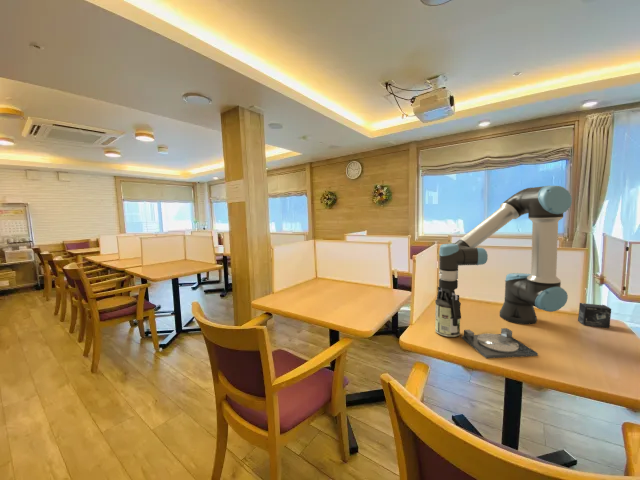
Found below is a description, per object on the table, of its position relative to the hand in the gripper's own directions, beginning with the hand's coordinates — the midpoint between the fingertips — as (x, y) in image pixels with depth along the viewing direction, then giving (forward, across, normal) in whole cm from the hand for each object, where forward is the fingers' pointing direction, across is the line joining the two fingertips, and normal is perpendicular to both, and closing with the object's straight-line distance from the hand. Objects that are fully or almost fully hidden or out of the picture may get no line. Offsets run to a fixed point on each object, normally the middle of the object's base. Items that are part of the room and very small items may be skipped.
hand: (447, 326), depth 122 cm
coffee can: (+3, 0, 0) cm, 3 cm away
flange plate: (+3, +14, +14) cm, 19 cm away
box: (+4, -2, +72) cm, 72 cm away
